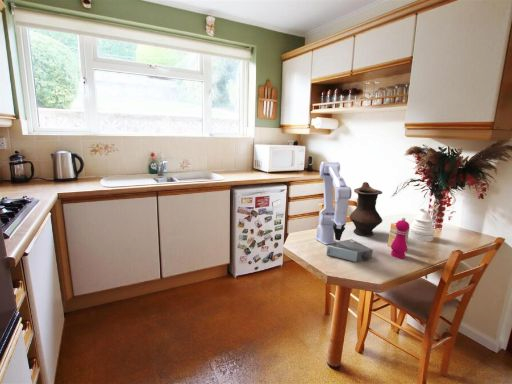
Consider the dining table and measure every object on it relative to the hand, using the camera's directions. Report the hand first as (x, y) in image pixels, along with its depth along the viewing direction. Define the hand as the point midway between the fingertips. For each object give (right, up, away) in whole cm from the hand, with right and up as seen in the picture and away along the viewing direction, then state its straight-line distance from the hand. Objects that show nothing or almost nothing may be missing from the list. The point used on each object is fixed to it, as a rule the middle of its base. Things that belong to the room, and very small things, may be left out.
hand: (337, 238), depth 141 cm
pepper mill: (+31, -10, +3) cm, 32 cm away
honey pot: (+58, -5, +31) cm, 66 cm away
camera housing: (+9, -8, +3) cm, 12 cm away
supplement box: (+35, -8, +13) cm, 38 cm away
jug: (+25, -2, +34) cm, 42 cm away
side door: (+1, -9, -3) cm, 10 cm away
